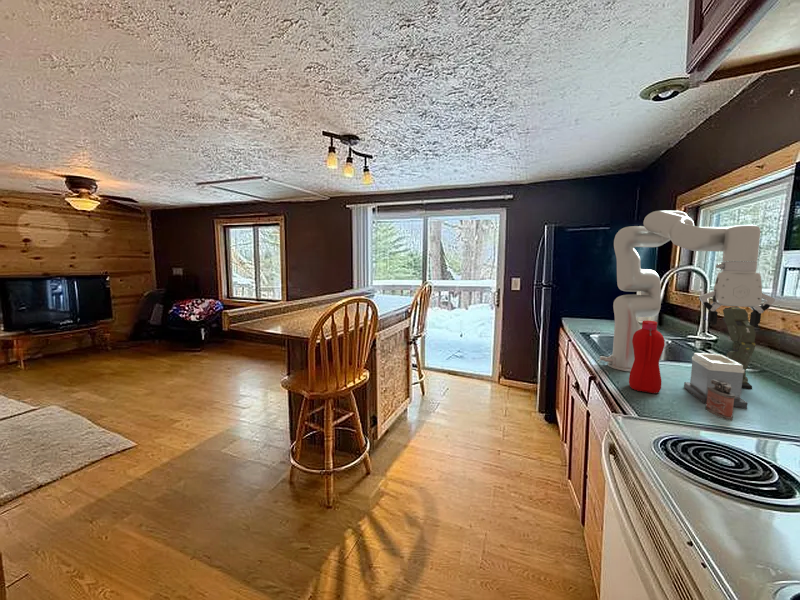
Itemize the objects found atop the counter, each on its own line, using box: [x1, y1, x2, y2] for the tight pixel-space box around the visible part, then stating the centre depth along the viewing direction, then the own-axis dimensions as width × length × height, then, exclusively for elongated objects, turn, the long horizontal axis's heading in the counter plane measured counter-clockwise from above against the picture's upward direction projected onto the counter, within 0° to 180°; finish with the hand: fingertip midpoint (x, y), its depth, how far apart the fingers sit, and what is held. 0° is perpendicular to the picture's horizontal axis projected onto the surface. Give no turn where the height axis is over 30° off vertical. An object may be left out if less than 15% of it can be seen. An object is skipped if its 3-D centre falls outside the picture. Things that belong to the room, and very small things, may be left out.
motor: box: [683, 352, 749, 409], centre depth 121 cm, size 11×16×14 cm
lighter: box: [704, 380, 735, 421], centre depth 108 cm, size 8×3×10 cm, turn 179°
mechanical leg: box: [722, 306, 757, 390], centre depth 134 cm, size 14×7×30 cm, turn 168°
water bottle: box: [628, 320, 665, 394], centre depth 127 cm, size 9×11×25 cm
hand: (732, 324), depth 107 cm, fingers open, 9 cm apart
